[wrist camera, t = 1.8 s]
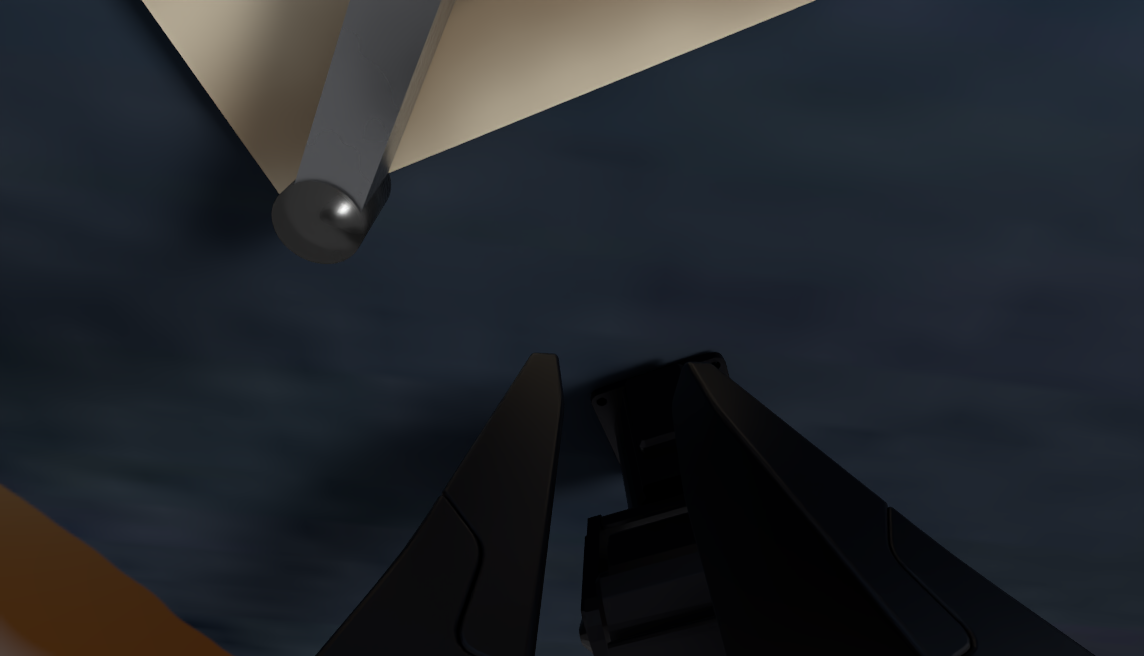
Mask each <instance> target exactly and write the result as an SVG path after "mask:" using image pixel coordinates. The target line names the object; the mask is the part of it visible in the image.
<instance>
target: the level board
mask: <svg viewBox="0 0 1144 656" xmlns="http://www.w3.org/2000/svg"><path fill="white" fill-rule="evenodd" d="M142 1H143V3H144V4H145V5H146V7H147V8H148V10H149V11H150V12H151V14H152V15H153V17H154V18H155V19H156V21H157V22H158V24H159V25H160V26H161V28H162V29H163V31H164V32H165V34H166V35H167V36H168V38H169V39H170V41H171V42H172V43H173V45H174V46H175V48H176V49H177V50H178V52H179V53H180V55H181V56H182V57H183V59H184V60H185V62H186V63H187V65H188V66H189V67H190V69H191V70H192V72H193V73H194V74H195V76H196V77H197V79H198V80H199V81H200V83H201V84H202V86H203V87H204V88H205V90H206V91H207V93H208V94H209V96H210V97H211V98H212V100H213V101H214V103H215V104H216V105H217V107H218V108H219V110H220V111H221V112H222V114H223V115H224V117H225V118H226V119H227V121H228V122H229V124H230V125H231V127H232V128H233V129H234V131H235V132H236V134H237V135H238V136H239V138H240V139H241V141H242V142H243V143H244V145H245V146H246V148H247V149H248V150H249V152H250V153H251V155H252V156H253V158H254V159H255V160H256V162H257V163H258V165H259V166H260V167H261V169H262V170H263V172H264V173H265V174H266V176H267V177H268V179H269V180H270V181H271V183H272V184H273V186H274V187H275V189H276V190H277V191H278V193H279V194H280V193H281V192H282V191H283V190H285V189H286V188H287V187H288V186H289V185H290V184H291V183H292V182H293V181H294V180H295V179H296V177H297V173H298V170H299V167H300V163H301V160H302V157H303V154H304V150H305V147H306V144H307V140H308V137H309V134H310V130H311V127H312V124H313V120H314V117H315V114H316V111H317V107H318V104H319V101H320V97H321V94H322V91H323V87H324V84H325V81H326V78H327V74H328V71H329V68H330V64H331V61H332V58H333V54H334V51H335V48H336V44H337V41H338V38H339V35H340V31H341V28H342V25H343V21H344V18H345V15H346V11H347V8H348V5H349V2H350V0H142ZM812 1H815V0H456V1H455V3H454V6H453V9H452V11H451V14H450V16H449V19H448V21H447V24H446V26H445V29H444V32H443V34H442V37H441V39H440V42H439V44H438V47H437V49H436V52H435V55H434V57H433V60H432V62H431V65H430V67H429V70H428V72H427V75H426V77H425V80H424V83H423V85H422V88H421V90H420V93H419V95H418V98H417V100H416V103H415V106H414V108H413V111H412V113H411V116H410V118H409V121H408V123H407V126H406V129H405V131H404V134H403V136H402V139H401V141H400V144H399V146H398V149H397V152H396V154H395V157H394V159H393V162H392V164H391V167H390V169H389V172H388V173H390V172H393V171H395V170H398V169H400V168H403V167H405V166H407V165H410V164H412V163H415V162H417V161H420V160H422V159H425V158H427V157H430V156H432V155H435V154H437V153H440V152H442V151H444V150H447V149H449V148H452V147H454V146H457V145H459V144H462V143H464V142H467V141H469V140H472V139H474V138H477V137H479V136H481V135H484V134H486V133H489V132H491V131H494V130H496V129H499V128H501V127H504V126H506V125H509V124H511V123H514V122H516V121H518V120H521V119H523V118H526V117H528V116H531V115H533V114H536V113H538V112H541V111H543V110H546V109H548V108H551V107H553V106H555V105H558V104H560V103H563V102H565V101H568V100H570V99H573V98H575V97H578V96H580V95H583V94H585V93H588V92H590V91H593V90H595V89H597V88H600V87H602V86H605V85H607V84H610V83H612V82H615V81H617V80H620V79H622V78H625V77H627V76H630V75H632V74H634V73H637V72H639V71H642V70H644V69H647V68H649V67H652V66H654V65H657V64H659V63H662V62H664V61H667V60H669V59H671V58H674V57H676V56H679V55H681V54H684V53H686V52H689V51H691V50H694V49H696V48H699V47H701V46H704V45H706V44H708V43H711V42H713V41H716V40H718V39H721V38H723V37H726V36H728V35H731V34H733V33H736V32H738V31H741V30H743V29H745V28H748V27H750V26H753V25H755V24H758V23H760V22H763V21H765V20H768V19H770V18H773V17H775V16H778V15H780V14H783V13H785V12H787V11H790V10H792V9H795V8H797V7H800V6H802V5H805V4H807V3H810V2H812Z"/></svg>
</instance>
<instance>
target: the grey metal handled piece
mask: <svg viewBox="0 0 1144 656" xmlns="http://www.w3.org/2000/svg"><path fill="white" fill-rule="evenodd" d="M455 1H456V0H350V2H349V5H348V8H347V11H346V15H345V18H344V21H343V25H342V28H341V31H340V35H339V38H338V41H337V44H336V48H335V51H334V54H333V58H332V61H331V64H330V68H329V71H328V74H327V78H326V81H325V84H324V87H323V91H322V94H321V97H320V101H319V104H318V107H317V111H316V114H315V117H314V120H313V124H312V127H311V130H310V134H309V137H308V140H307V144H306V147H305V150H304V154H303V157H302V160H301V163H300V167H299V170H298V173H297V177H296V179H295V180H294V181H293V182H292V183H291V184H290V185H289V186H288V187H287V188H286V189H285V190H283V191H282V192H281V193H280V194H279V196H278V197H277V198H276V200H275V202H274V204H273V207H272V223H273V226H274V229H275V231H276V233H277V235H278V237H279V238H280V240H281V241H282V242H283V244H284V245H285V246H286V247H287V248H288V249H290V250H291V251H292V252H293V253H295V254H296V255H298V256H300V257H302V258H304V259H306V260H308V261H311V262H315V263H321V264H334V263H338V262H341V261H344V260H346V259H348V258H349V257H351V256H352V255H353V254H354V253H355V252H356V251H357V249H358V248H359V246H360V244H361V243H362V241H363V239H364V238H365V236H366V234H367V233H368V231H369V230H370V228H371V226H372V225H373V223H374V221H375V220H376V218H377V216H378V215H379V213H380V211H381V210H382V208H383V206H384V205H385V203H386V201H387V200H388V198H389V195H390V191H391V180H390V176H389V173H388V172H389V169H390V167H391V164H392V162H393V159H394V157H395V154H396V152H397V149H398V146H399V144H400V141H401V139H402V136H403V134H404V131H405V129H406V126H407V123H408V121H409V118H410V116H411V113H412V111H413V108H414V106H415V103H416V100H417V98H418V95H419V93H420V90H421V88H422V85H423V83H424V80H425V77H426V75H427V72H428V70H429V67H430V65H431V62H432V60H433V57H434V55H435V52H436V49H437V47H438V44H439V42H440V39H441V37H442V34H443V32H444V29H445V26H446V24H447V21H448V19H449V16H450V14H451V11H452V9H453V6H454V3H455Z"/></svg>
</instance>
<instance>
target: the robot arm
mask: <svg viewBox="0 0 1144 656" xmlns="http://www.w3.org/2000/svg"><path fill="white" fill-rule="evenodd" d="M713 362H717V363H716V364H714V365H712V364H711V363H713ZM599 398H605V399H604V400H598V399H599ZM591 402H592V406H593V408H594V410H595V412H596V415H597V417H598V419H599V421H600V423H601V425H602V427H603V429H604V432H605V434H606V436H607V438H608V440H609V442H610V444H611V446H612V449H613V451H614V453H615V455H616V457H617V459H618V461H619V463H620V465H621V470H622V475H623V481H624V486H625V492H626V498H627V503H628V509H627V510H623V511H620V512H616V513H613V514H609V515H606V516H603V517H602V516H601V515H598V516H594V517H591V518H588V526H587V536H585V547H584V564H583V582H582V599H581V614H582V620H581V624H580V627H579V634H580V639H581V642H582V644H583V646H584V647H586V648H587V649H588V650H589V651H591V652H592V653H593V655H594V656H1095V655H1094V654H1092V653H1091V652H1089V651H1088V650H1087V649H1085V648H1084V647H1082V646H1081V645H1079V644H1078V643H1077V642H1075V641H1074V640H1072V639H1071V638H1070V637H1068V636H1067V635H1065V634H1064V633H1062V632H1061V631H1060V630H1058V629H1057V628H1055V627H1054V626H1052V625H1051V624H1050V623H1048V622H1047V621H1045V620H1044V619H1043V618H1041V617H1040V616H1038V615H1037V614H1035V613H1034V612H1033V611H1031V610H1030V609H1028V608H1027V607H1025V606H1024V605H1023V604H1021V603H1020V602H1018V601H1017V600H1015V599H1014V598H1013V597H1011V596H1010V595H1008V594H1007V593H1006V592H1004V591H1003V590H1001V589H1000V588H998V587H997V586H996V585H994V584H993V583H992V582H990V581H989V580H987V579H986V578H985V577H983V576H982V575H980V574H979V573H978V572H976V571H975V570H974V569H972V568H971V567H969V566H968V565H967V564H965V563H964V562H962V561H961V560H960V559H958V558H957V557H956V556H954V555H953V554H952V553H950V552H949V551H948V550H946V549H945V548H944V547H942V546H941V545H940V544H939V543H937V542H936V541H935V540H933V539H932V538H931V537H929V536H928V535H927V534H926V533H924V532H923V531H922V530H920V529H919V528H918V527H916V526H915V525H914V524H913V523H911V522H910V521H909V520H908V519H906V518H905V517H904V516H903V515H901V514H900V513H899V512H898V511H896V510H895V509H894V508H892V507H888V506H887V503H886V502H885V501H884V500H882V499H881V498H880V497H879V496H877V495H876V494H875V493H874V492H872V491H871V490H870V489H869V488H867V487H866V486H865V485H864V484H862V483H861V482H860V481H858V480H857V479H856V478H855V477H853V476H852V475H851V474H850V473H848V472H847V471H846V470H845V469H843V468H842V467H841V466H840V465H838V464H837V463H836V462H835V461H833V460H832V459H831V458H830V457H828V456H827V455H826V454H825V453H823V452H822V451H821V450H820V449H818V448H817V447H816V446H814V445H813V444H812V443H811V442H809V441H808V440H807V439H806V438H804V437H803V436H802V435H801V434H799V433H798V432H797V431H796V430H794V429H793V428H792V427H791V426H789V425H788V424H787V423H786V422H784V421H783V420H782V419H781V418H779V417H778V416H777V415H776V414H774V413H773V412H772V411H771V410H769V409H768V408H767V407H765V406H764V405H763V404H762V403H760V402H759V401H758V400H757V399H755V398H754V397H753V396H752V395H750V394H749V393H748V392H747V391H745V390H744V389H743V388H742V387H740V386H739V385H738V384H737V383H735V382H734V381H733V380H732V379H730V378H729V374H728V370H727V366H726V362H725V360H724V358H723V356H722V355H721V354H720V353H717V352H712V353H708V354H705V355H702V356H699V357H696V358H693V359H690V360H686V361H683V362H680V363H677V364H674V365H671V366H668V367H665V368H661V369H658V370H655V371H652V372H649V373H646V374H643V375H640V376H636V377H633V378H630V379H627V380H624V381H621V382H618V383H615V384H611V385H608V386H605V387H602V388H599V389H597V390H595V391H593V392H592V394H591ZM563 415H564V396H563V388H562V380H561V373H560V365H559V358H558V356H557V355H556V354H549V353H533V354H532V355H531V356H530V357H529V359H528V360H527V362H526V363H525V365H524V366H523V368H522V369H521V371H520V372H519V374H518V376H517V377H516V379H515V380H514V382H513V383H512V385H511V386H510V388H509V390H508V391H507V393H506V394H505V396H504V397H503V399H502V400H501V402H500V403H499V405H498V407H497V408H496V410H495V411H494V413H493V414H492V416H491V417H490V419H489V420H488V422H487V424H486V425H485V427H484V428H483V430H482V431H481V433H480V434H479V436H478V437H477V439H476V441H475V442H474V444H473V445H472V447H471V448H470V450H469V451H468V453H467V455H466V456H465V458H464V459H463V461H462V462H461V464H460V465H459V467H458V468H457V470H456V472H455V473H454V475H453V476H452V478H451V479H450V481H449V482H448V484H447V485H446V487H445V489H444V490H443V492H442V496H439V497H438V499H437V500H436V502H435V504H434V505H433V507H432V508H431V510H430V511H429V513H428V514H427V516H426V517H425V519H424V520H423V522H422V523H421V525H420V526H419V528H418V529H417V530H416V532H415V533H414V535H413V536H412V538H411V539H410V540H409V542H408V543H407V545H406V546H405V548H404V549H403V550H402V552H401V553H400V554H399V555H398V557H397V558H396V559H395V560H394V562H393V563H392V564H391V565H390V567H389V568H388V569H387V570H386V572H385V573H384V574H383V575H382V577H381V578H380V579H379V580H378V582H377V583H376V584H375V585H374V587H373V588H372V589H371V590H370V591H369V593H368V594H367V595H366V596H365V597H364V599H363V600H362V601H361V602H360V603H359V604H358V606H357V607H356V608H355V609H354V610H353V612H352V613H351V614H350V615H349V616H348V617H347V619H346V620H345V621H344V622H343V623H342V625H341V626H340V627H339V628H338V629H337V630H336V632H335V633H334V634H333V635H332V636H331V638H330V639H329V640H328V641H327V642H326V644H325V645H324V646H323V647H322V648H321V649H320V651H319V652H318V653H317V654H316V655H315V656H535V649H536V641H537V632H538V624H539V616H540V607H541V599H542V591H543V582H544V574H545V566H546V557H547V549H548V540H549V532H550V524H551V515H552V507H553V499H554V490H555V482H556V474H557V465H558V457H559V449H560V440H561V432H562V423H563Z"/></svg>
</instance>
